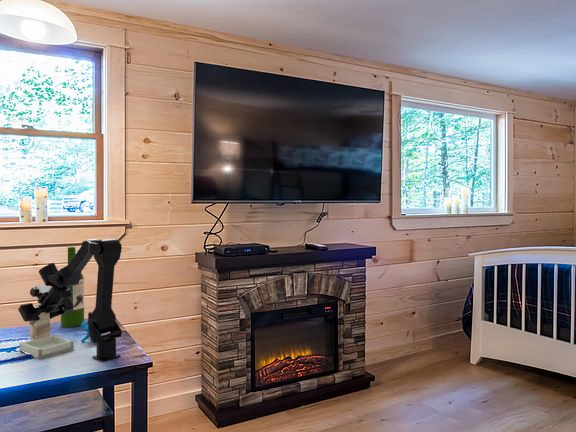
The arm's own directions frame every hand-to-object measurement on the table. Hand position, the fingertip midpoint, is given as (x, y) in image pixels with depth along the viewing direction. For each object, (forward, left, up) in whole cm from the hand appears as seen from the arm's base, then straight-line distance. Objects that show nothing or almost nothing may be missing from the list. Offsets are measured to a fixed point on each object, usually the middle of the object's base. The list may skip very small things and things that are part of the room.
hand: (38, 321), depth 177 cm
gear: (-18, -11, -7) cm, 22 cm away
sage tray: (-15, +5, -7) cm, 18 cm away
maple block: (-1, 0, -7) cm, 7 cm away
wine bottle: (+10, -19, -7) cm, 23 cm away
